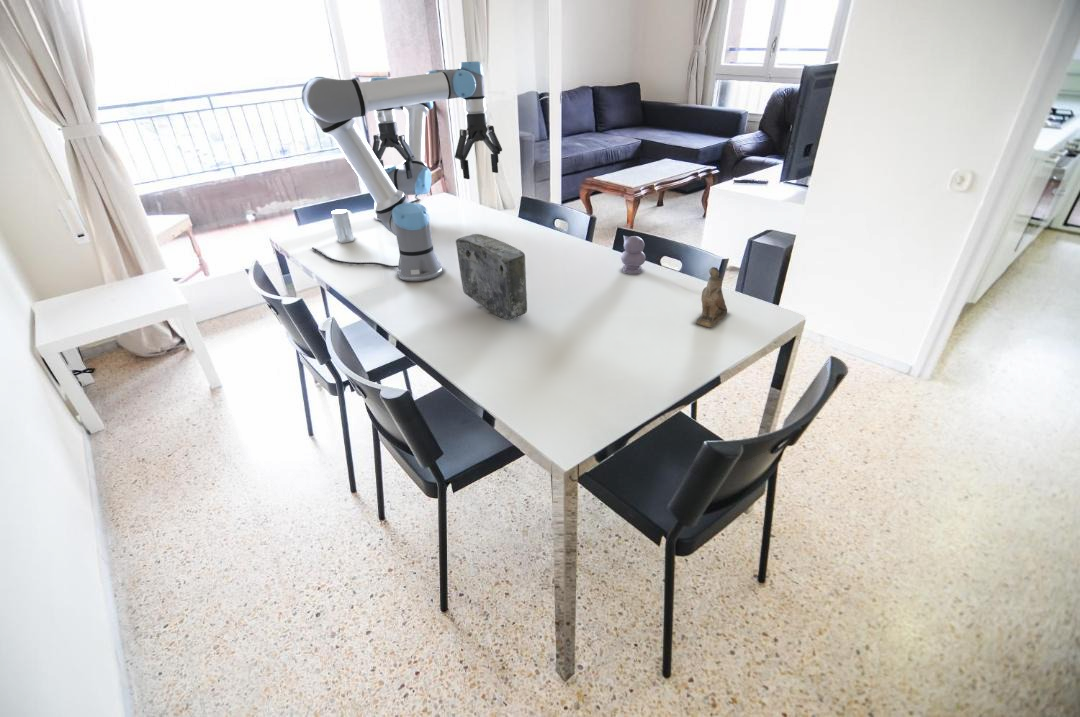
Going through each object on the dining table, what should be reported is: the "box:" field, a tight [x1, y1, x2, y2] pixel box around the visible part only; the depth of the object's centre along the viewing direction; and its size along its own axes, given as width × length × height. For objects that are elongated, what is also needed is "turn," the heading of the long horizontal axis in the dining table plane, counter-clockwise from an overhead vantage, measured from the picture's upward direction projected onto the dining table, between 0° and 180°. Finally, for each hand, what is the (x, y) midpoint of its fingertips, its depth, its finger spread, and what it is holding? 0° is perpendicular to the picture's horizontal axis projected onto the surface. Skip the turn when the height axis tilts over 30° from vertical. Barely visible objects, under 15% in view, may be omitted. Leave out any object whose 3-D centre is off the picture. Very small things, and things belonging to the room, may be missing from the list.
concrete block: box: [455, 233, 528, 321], centre depth 143 cm, size 27×9×20 cm, turn 36°
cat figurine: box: [620, 234, 646, 275], centre depth 168 cm, size 9×8×12 cm
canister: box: [331, 208, 355, 244], centre depth 209 cm, size 6×6×12 cm
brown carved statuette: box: [695, 266, 728, 328], centre depth 135 cm, size 12×6×18 cm, turn 136°
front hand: (481, 175), depth 186 cm, fingers open, 13 cm apart
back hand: (396, 177), depth 208 cm, fingers open, 13 cm apart
